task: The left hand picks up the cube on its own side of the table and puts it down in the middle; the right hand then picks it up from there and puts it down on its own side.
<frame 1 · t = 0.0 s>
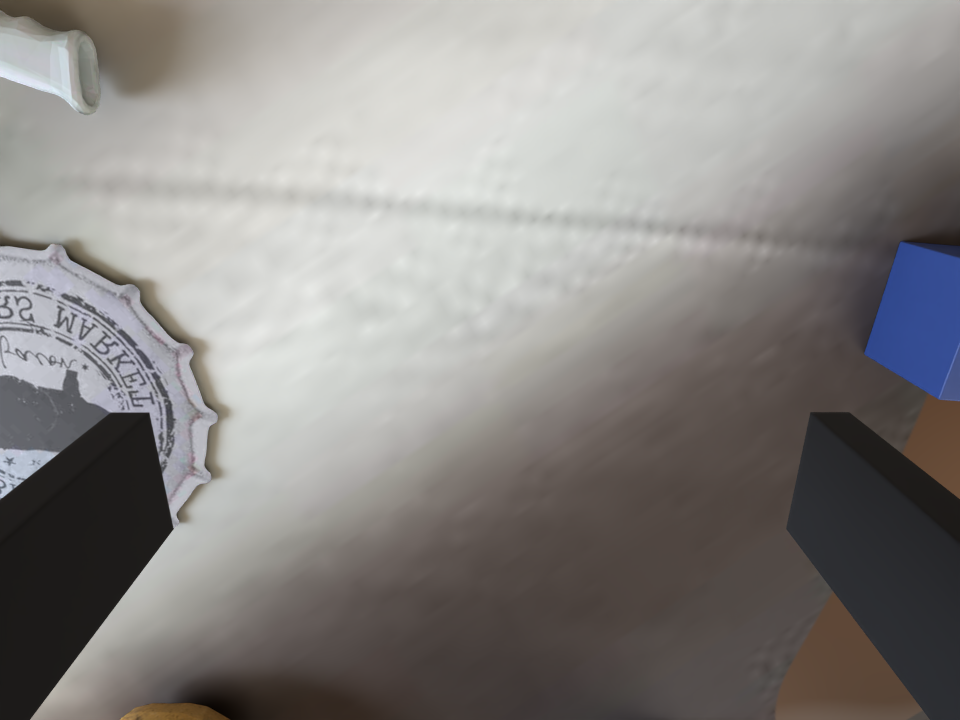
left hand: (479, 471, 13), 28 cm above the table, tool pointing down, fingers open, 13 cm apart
cube: (942, 304, 40), on the table
decorative wall hanging: (46, 447, 44), on the table
potato: (203, 718, 53), on the table
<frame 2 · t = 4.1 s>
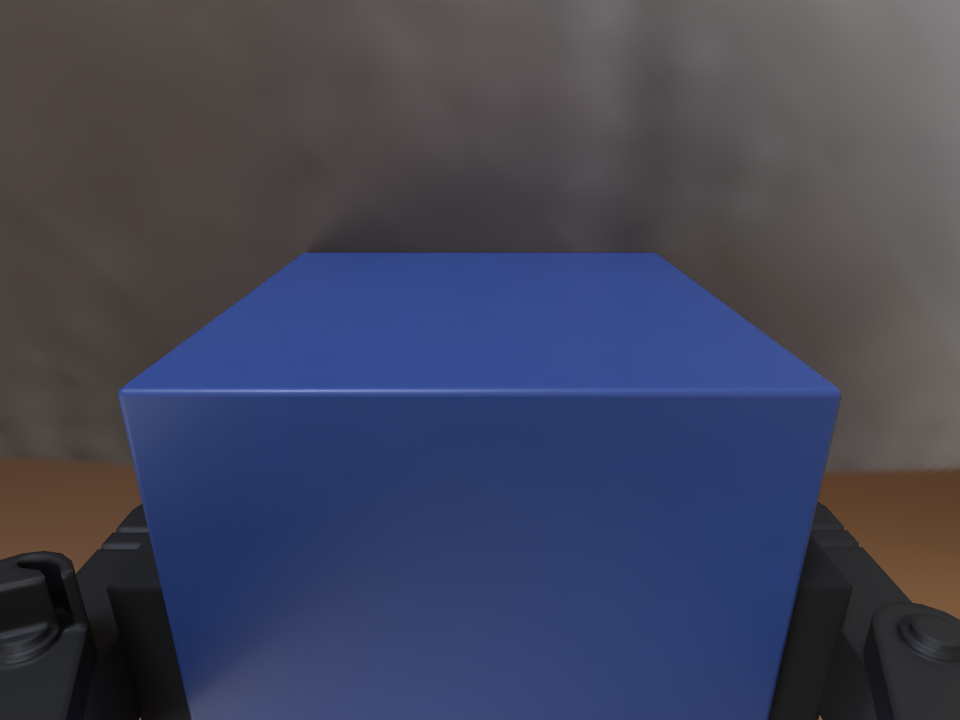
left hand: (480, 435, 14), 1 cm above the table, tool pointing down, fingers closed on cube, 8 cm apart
cube: (479, 422, 15), on the table, touching left hand
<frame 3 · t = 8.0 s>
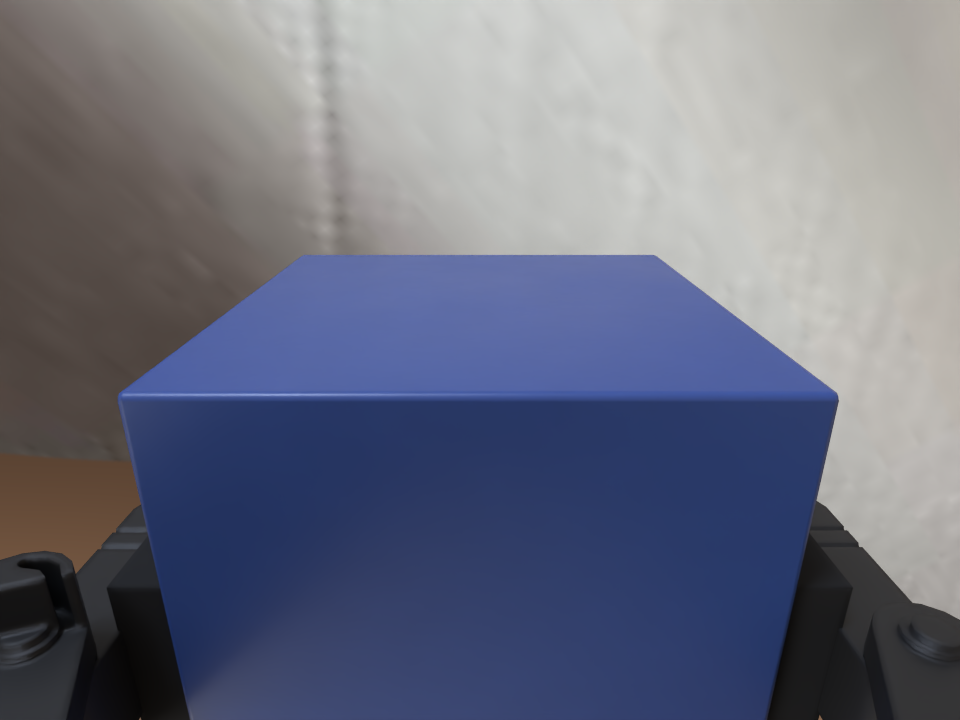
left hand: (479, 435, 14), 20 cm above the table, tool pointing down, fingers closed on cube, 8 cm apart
cube: (479, 424, 15), point 19 cm above the table, touching left hand
when the left hand's fingers open (2 cm above the table, at t = 11.9 s): cube stays where it is, on the table.
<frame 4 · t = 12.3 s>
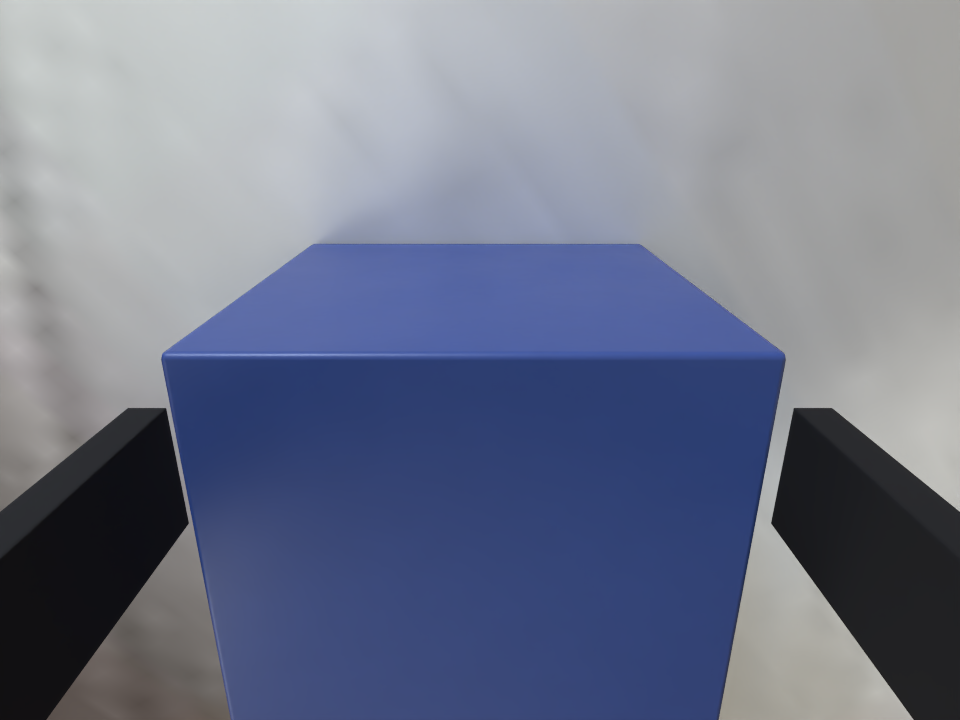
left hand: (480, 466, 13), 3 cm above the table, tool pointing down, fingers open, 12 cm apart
cube: (476, 403, 16), on the table
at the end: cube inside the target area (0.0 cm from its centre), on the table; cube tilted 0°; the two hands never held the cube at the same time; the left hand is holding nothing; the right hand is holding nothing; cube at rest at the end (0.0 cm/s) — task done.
